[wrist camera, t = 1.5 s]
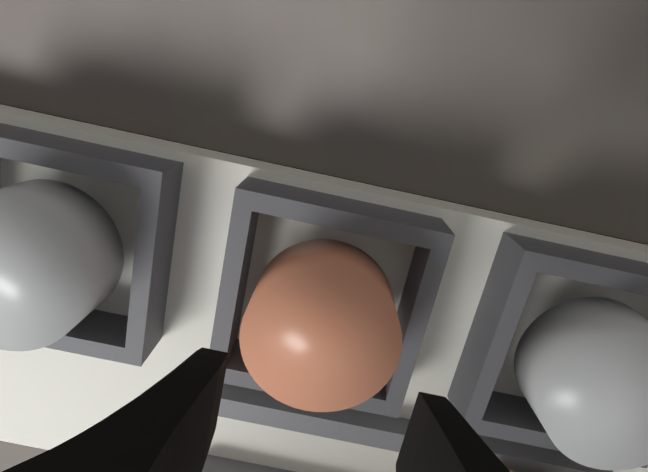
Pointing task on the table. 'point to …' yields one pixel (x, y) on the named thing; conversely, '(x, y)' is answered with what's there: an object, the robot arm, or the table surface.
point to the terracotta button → (321, 327)
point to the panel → (242, 277)
